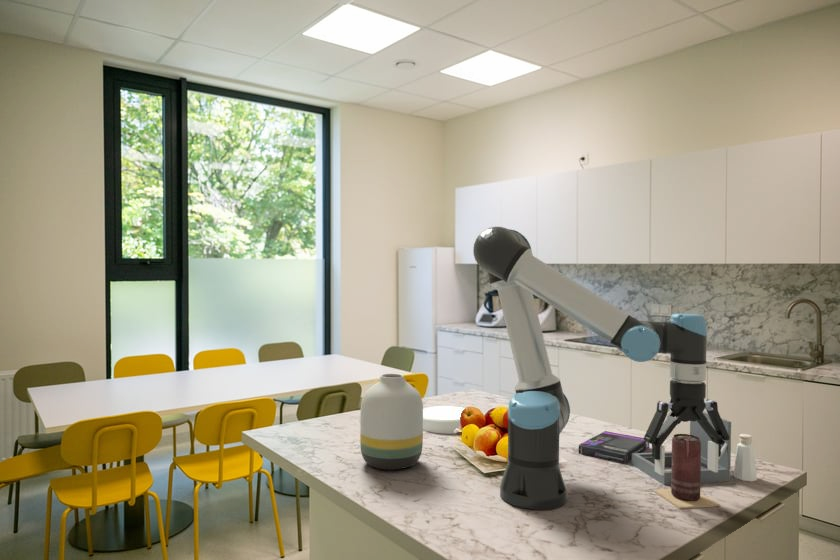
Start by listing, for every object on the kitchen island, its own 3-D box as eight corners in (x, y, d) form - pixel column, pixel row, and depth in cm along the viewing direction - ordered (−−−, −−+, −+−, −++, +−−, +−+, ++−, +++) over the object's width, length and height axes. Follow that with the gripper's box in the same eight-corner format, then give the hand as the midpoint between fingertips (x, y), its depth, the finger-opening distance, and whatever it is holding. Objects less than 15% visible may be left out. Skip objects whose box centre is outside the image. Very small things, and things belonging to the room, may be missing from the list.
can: (675, 501, 128) (676, 439, 128) (668, 490, 134) (669, 432, 134) (704, 503, 127) (704, 441, 126) (695, 492, 133) (696, 433, 133)
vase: (435, 463, 153) (436, 375, 152) (390, 480, 140) (391, 384, 140) (392, 449, 164) (392, 368, 164) (347, 463, 152) (347, 375, 152)
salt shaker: (736, 472, 148) (737, 430, 148) (760, 477, 144) (760, 435, 144) (730, 477, 144) (730, 434, 144) (753, 483, 140) (754, 439, 140)
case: (664, 484, 139) (665, 424, 139) (631, 464, 153) (632, 409, 153) (730, 481, 142) (731, 421, 141) (692, 461, 156) (692, 407, 156)
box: (605, 441, 177) (577, 455, 163) (605, 430, 177) (577, 443, 163) (650, 450, 168) (625, 465, 154) (650, 438, 168) (625, 452, 154)
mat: (679, 508, 125) (679, 507, 125) (653, 491, 134) (653, 489, 134) (720, 506, 126) (720, 504, 126) (691, 489, 136) (691, 487, 136)
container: (446, 415, 206) (446, 402, 206) (488, 426, 191) (488, 413, 191) (405, 425, 192) (405, 411, 192) (446, 438, 177) (446, 423, 177)
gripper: (647, 385, 124) (645, 480, 124) (747, 382, 128) (746, 474, 129) (629, 378, 132) (627, 468, 132) (724, 376, 136) (723, 463, 136)
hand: (686, 471), depth 130 cm, fingers open, 13 cm apart
